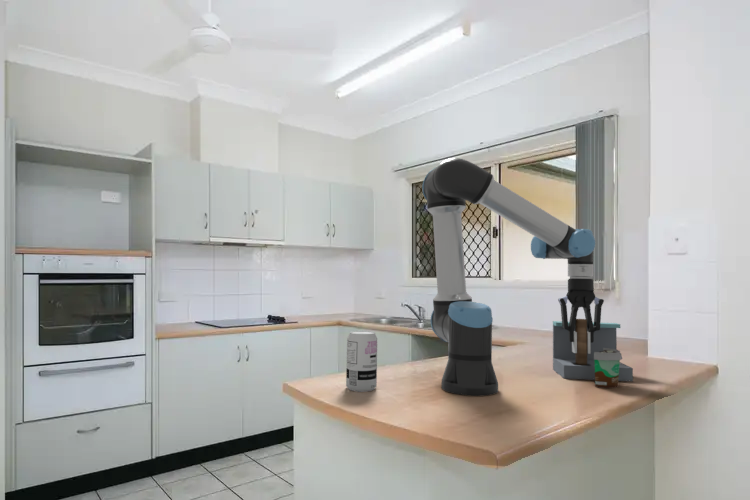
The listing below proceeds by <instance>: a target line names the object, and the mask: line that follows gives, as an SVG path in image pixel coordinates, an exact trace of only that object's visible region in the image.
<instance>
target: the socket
mask: <svg viewBox="0 0 750 500" xmlns="http://www.w3.org/2000/svg"><path fill="white" fill-rule="evenodd" d="M592 322H593V327H594V321H592ZM568 326H569V321H568ZM617 329H621V324H620V323H616V322H600V330H597V331H595V332H594V341H593V343H591V342H590V345H591V354H588V353H587V365H577V364H576V363H575V353H573V352H572V342H570V341H569V331H568V330H566V329H563V327H562V320H561V321H559V320H557V321H554V320H553V321H552V370H553V371H554V372H555V373H556V374H557V375H559V376H560V377H561V378H563V379H570V380H589V381H590V380H592V381H595V363H594V352H600V351H601V352H602V351H603V348H610V349H616V350H618V349H617V342H618V341H617ZM574 331H575V329H574ZM587 332H588V329H587ZM633 370H634V368H633V367H631V366H629V365H627V364H625V363H623V362H621V361H620V365H619V379H618V382H634V376H633V375H634V373H633V372H634V371H633Z"/></svg>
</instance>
